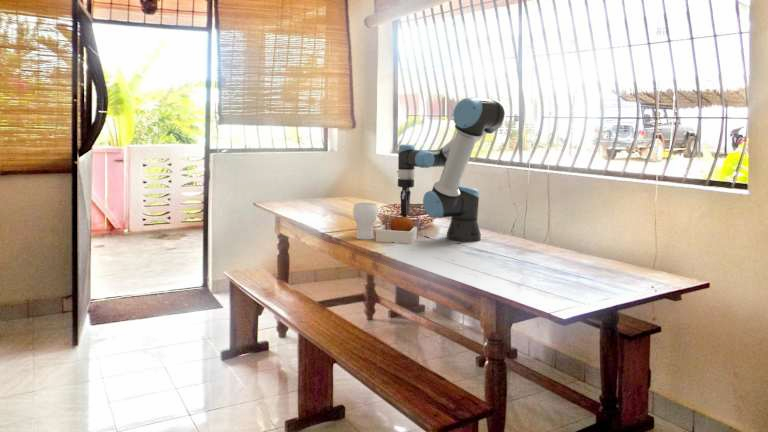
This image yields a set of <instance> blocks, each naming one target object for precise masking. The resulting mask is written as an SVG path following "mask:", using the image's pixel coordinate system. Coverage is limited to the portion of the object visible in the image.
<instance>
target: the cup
mask: <svg viewBox="0 0 768 432" xmlns="http://www.w3.org/2000/svg"><path fill="white" fill-rule="evenodd" d="M378 212H379V211H378V205H377V204H376V203H374V202H356V203H354V205H353V209H352V215H353V218H354V221H355V223H356V229H357V230H356V235H355V236H356V237H355V238H356V239H357V240H373V239H374V238H375V237H374V224H375V222H376V220H377V217H378Z"/></svg>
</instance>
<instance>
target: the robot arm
mask: <svg viewBox="0 0 768 432" xmlns="http://www.w3.org/2000/svg"><path fill="white" fill-rule="evenodd" d="M452 116H453V123H454V128H455V130H456V132H455V136H454V137H453V138H452V139H451V140H450V141H449V142H447V143H446V144H445V145H444V146H442V147H440V149H430V150H429V149H423V150H422V149H416V145H414V144H399V145H398V152H397V154H398V159H397V160H398V161H397V162H398V164H397V165H398V166H397V168H398V170H397V171H396V173H397V178H398V179H397V187H398V188H401V191H400V215H399V216H401V217H407V218H409V216H410V214H411V213H410V204H411V194H412V193H411V190H410V189H411V188H414V186H415V179H414V178H415V171H416V170H415V168H417V167H418V168H421V169H428V168H434V167H436V168H437V167H439V168H440V167H443V169H442V171H441V172H442V173H441V175H440V178H439V180H438V181H436V182H434V184H433V187H432V189H431V190H428V191H426V192H425V193H424V195H423V200H422V205H423V209H424V211H425V213H426V214H427V215H428V216H429V217H431V218H433V219H442V218H450V217H451V218H450V219H451V220H450V224H449V226H448V229H447V231H446V239H447V240H451V241H455V242H478V241H480V240H481V238H482V234H481V231H480V226H479V223H478V222H479V221H478V219H479V217H478V216H479V200H480V195H479V190H478V189H477V188H475V187H473V188H472V187H465V186H460V184H461V182H462V179H463V176H464V174H465V171H466V169H467V166H468V164H469V160H470V158H471V156H472V152H473V151H474V147H475V144H476V143H477V142H479V141H480V140H481V139H482V138H484V137H485V136H486V135H488V134H493V133H494V132H496V131H498V129H499V128H500V127H502V125H503V124H504V122H505V120H506V117H507V113H506V108H505V106H504V104H502V102H500V101H499V100H497V99H494V98H479V97H467V98H463V99H461V100H459V102H457V104H456V105H455V106H454V109H453V115H452Z"/></svg>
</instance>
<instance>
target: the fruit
mask: <svg viewBox="0 0 768 432" xmlns="http://www.w3.org/2000/svg"><path fill="white" fill-rule="evenodd" d="M389 227H390V230H393V231H410V230H411V229H412V228H413V227H414V222H413V221H412V220H411V218H409V217H408V218H407V217H402V216H396V217H394V218H393V219H392V220H391V221H390V223H389Z"/></svg>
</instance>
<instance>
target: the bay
mask: <svg viewBox="0 0 768 432" xmlns="http://www.w3.org/2000/svg"><path fill="white" fill-rule="evenodd" d="M418 236H419V221H416V220H415V221H414V222H413V228H412V229H411V230H410V231H393V230H391V229H388V219H383V220H382V225H381V226H380V227H378V228H376V229H375V242H379V243H391V242H394V244H405V245H407V244H409V245H411V244H414V242H415V240H416V239H417V238H419V237H418Z"/></svg>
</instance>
